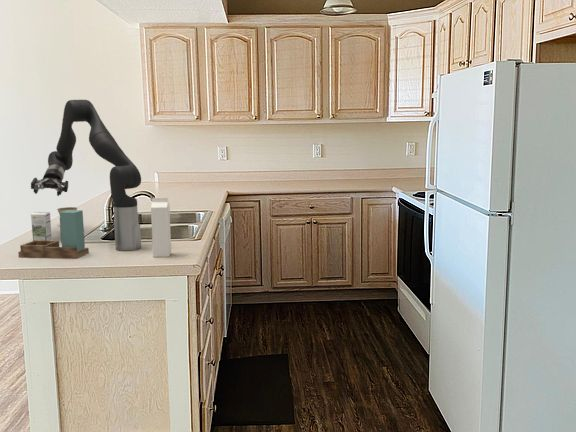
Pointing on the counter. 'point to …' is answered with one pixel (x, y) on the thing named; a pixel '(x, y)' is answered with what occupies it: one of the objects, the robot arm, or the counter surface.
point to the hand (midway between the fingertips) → (46, 192)
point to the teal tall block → (72, 229)
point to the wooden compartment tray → (49, 250)
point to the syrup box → (41, 226)
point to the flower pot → (66, 209)
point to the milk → (161, 227)
